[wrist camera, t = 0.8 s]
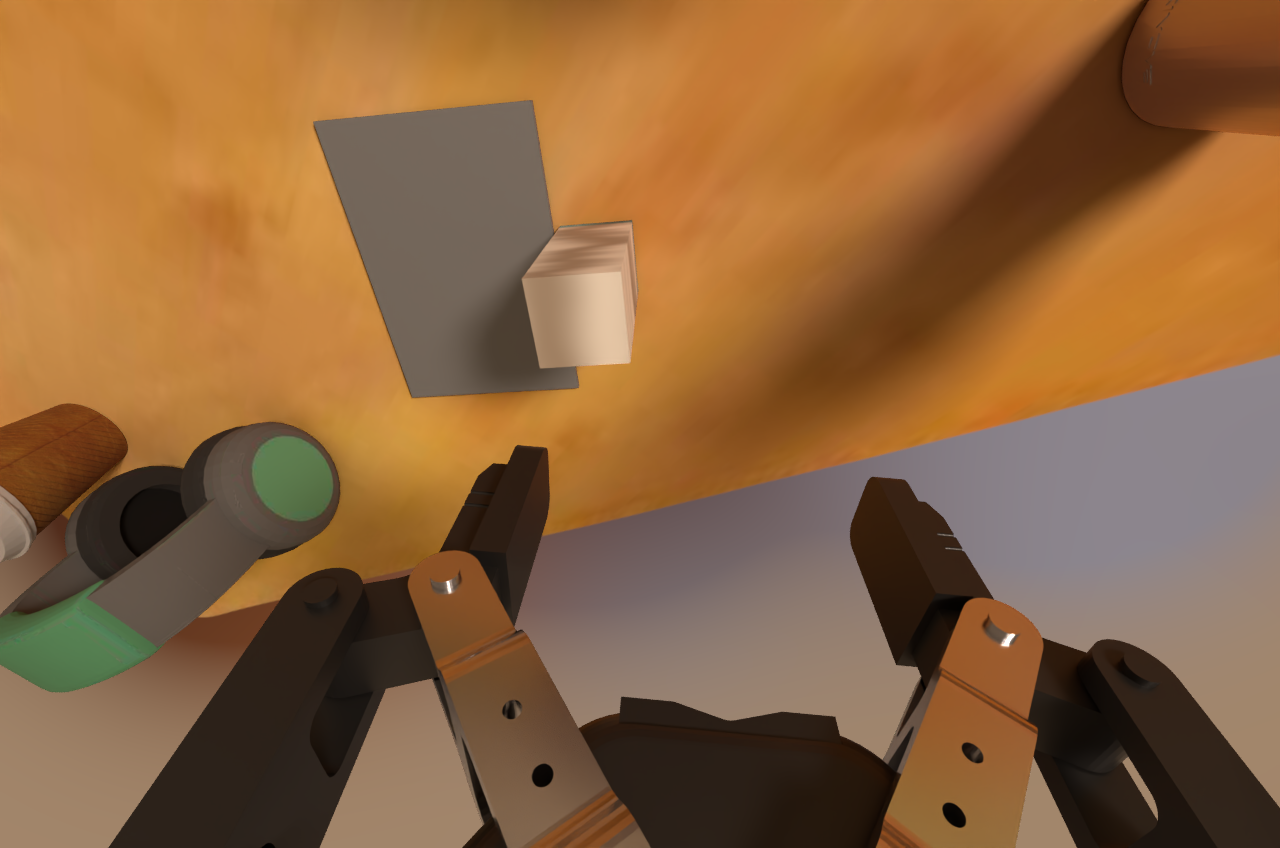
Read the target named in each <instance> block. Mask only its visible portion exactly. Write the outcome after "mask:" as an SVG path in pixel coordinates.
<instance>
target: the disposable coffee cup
mask: <svg viewBox="0 0 1280 848" xmlns="http://www.w3.org/2000/svg"><path fill="white" fill-rule="evenodd" d="M126 453H127V443H126V440H125V438H124V436H123V434H122V433H121V431H120V430H119V429H118V428H117V427H116V426H115V425H114V424H113V423H112V422H111V421H110V420H108V419H107V418H106V417H104V416H103V415H101V414H99V413H98V412H96V411H94V410H92V409H90V408H87V407H84V406H81V405H76V404H61V405H58V406H55V407H53V408H50V409H48V410H45V411H43V412H40V413H37V414H35V415H32V416H30V417H27V418H24V419H22V420H19V421H16V422H14V423H11V424H8V425H6V426H3V427H0V563H1V562H3V561H5V560H10V559H15V558H17V557H20V556H22V555H23V554H24V553H26V552H27V551H28V549H29V548H30V547H31V544H32V543H33V541H34V540H35V538H36V536H37V535H38V534H39V533H40V532H41V531H42V530H43V529H44V528H45V527H47V526H48V525H49V524H50V523H51V522H52V521H53V520H55V518H57V516H59V515H60V514H61V513H62V512H63V511H64V510H65V509H66V508H68V507H69V506H70V505H71V504H72V503H73V502H74V501H75V500H77V499H78V498H79V497H80V496H81V495H82V494H83V493H84V492H86V491H87V490H88V489H89V488H90V487H91V486H92V485H93V484H94V483H95V482H96V481H98V480H99V479H100V478H101V477H102V476H103V475H104V474H105V473H106V472H108V471H109V470H110V469H111V468H112V467H113V466H114V465H115V464H116V463H117V462H119V461H120V460H121V459H122V458H123V457H124V456H125V455H126Z"/></svg>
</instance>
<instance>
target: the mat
mask: <svg viewBox="0 0 1280 848" xmlns="http://www.w3.org/2000/svg"><path fill="white" fill-rule="evenodd" d="M313 123H314V126H315V128H316V131H317V134H318V137H319V139H320V142H321V145H322V148H323V151H324V153H325V156H326V159H327V162H328V164H329V167H330V170H331V173H332V176H333V178H334V181H335V184H336V187H337V189H338V192H339V195H340V198H341V201H342V203H343V206H344V209H345V212H346V214H347V217H348V220H349V223H350V226H351V228H352V231H353V234H354V237H355V239H356V242H357V245H358V248H359V251H360V253H361V256H362V259H363V262H364V264H365V267H366V270H367V273H368V275H369V278H370V281H371V284H372V287H373V289H374V292H375V295H376V298H377V300H378V303H379V306H380V309H381V312H382V314H383V317H384V320H385V323H386V325H387V328H388V331H389V334H390V337H391V339H392V342H393V345H394V348H395V350H396V353H397V356H398V359H399V362H400V364H401V367H402V370H403V373H404V375H405V378H406V381H407V384H408V387H409V389H410V392H411V395H412V397H429V396H446V395H464V394H481V393H499V392H517V391H534V390H552V389H569V388H579V382H578V376H577V370H576V366H573V367H556V368H540V366H539V361H538V356H537V351H536V346H535V342H534V337H533V332H532V327H531V322H530V317H529V312H528V307H527V302H526V298H525V293H524V288H523V283H522V278H523V276H524V275H525V274H526V272H527V271H528V269H529V268H530V267H531V265H532V264H533V263H534V261H535V260H536V259H537V257H538V256H539V254H540V253H541V252H542V250H543V249H544V248H545V246H546V245H547V244H548V242H549V241H550V239H551V238H552V237H553V235H554V229H553V223H552V217H551V211H550V205H549V198H548V192H547V186H546V180H545V174H544V168H543V162H542V156H541V150H540V143H539V137H538V131H537V125H536V119H535V113H534V107H533V101H532V100H529V101H519V102H508V103H498V104H488V105H478V106H468V107H457V108H447V109H437V110H427V111H417V112H406V113H396V114H386V115H376V116H366V117H355V118H345V119H335V120H325V121H315V122H313Z"/></svg>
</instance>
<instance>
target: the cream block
mask: <svg viewBox="0 0 1280 848" xmlns="http://www.w3.org/2000/svg"><path fill="white" fill-rule="evenodd" d="M522 283H523V288H524V293H525V298H526V302H527V307H528V312H529V317H530V322H531V327H532V332H533V337H534V342H535V346H536V351H537V356H538V361H539V366H540V368H556V367H573V366H589V365H606V364H623V363H630V360H631V351H632V343H633V334H634V325H635V316H636V307H637V298H638V283H637V271H636V260H635V248H634V237H633V225H632V220H630V221H618V222H605V223H593V224H580V225H568V226H560V227H559V229H558V230H557V231H556V233H555V234H554V235H553V237H552V238H551V239H550V241H549V242H548V244H547V245H546V246H545V248H544V249H543V250H542V252H541V253H540V254H539V256H538V257H537V259H536V260H535V261H534V263H533V264H532V265H531V267H530V268H529V269H528V271H527V272H526V274H525V275H524V276H523V278H522Z"/></svg>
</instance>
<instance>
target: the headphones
mask: <svg viewBox="0 0 1280 848" xmlns="http://www.w3.org/2000/svg"><path fill="white" fill-rule="evenodd" d="M339 497H340V482H339V477H338V473H337V470H336V467H335V464H334V462H333V461H332V459H331V457H330V455H329V454H328V452H327V451H326V450H325V448H324V447H323V446H322V445H321V444H320V443H319V442H318V441H317V440H316V439H315V438H313V437H312V436H310V435H309V434H308V433H306V432H304V431H302V430H300V429H298V428H296V427H293V426H290V425H287V424H283V423H276V422H265V423H257V424H251V425H248V426H241V427H235V428H232V429H229V430H226V431H223V432H221V433H218V434H216V435H214V436H212V437H210V438H209V439H207V440H205V441H204V442H202V443H201V444H200V445H199V446H198V447H197V448H196V449H195V450H194V451H193V453H192V455H191V456H190V458H189V459H188V461H187V463H186V464H185V467H184V469H180V468H174V467H168V466H149V467H143V468H137V469H135V470H132V471H129V472H126V473H123V474H121V475H119V476H116V477H114V478H112V479H111V480H109V481H107V482H105V483H104V484H102V485H101V486H100V487H99V488H98V489H97V490H95V491H94V492H92V493H91V494H90V495H89V496H88V497H86V498H85V499H84V500H83V501H82V502H81V503H80V504H79V505H78V506H77V507H76V509H75V510H74V511H73V513H72V514H71V517H70V519H69V521H68V524H67V528H66V533H65V545H66V551H67V554H68V556H67V557H66V558H64V559H63V560H62V561H61V562H60V563H58V564H57V565H56V566H55V567H53V568H52V569H51V570H50V571H48V572H47V573H46V574H45V575H44V576H43V577H41V578H40V579H39V580H38V581H36V582H35V583H34V584H33V585H32V586H31V587H30V588H29V589H27V590H26V591H25V592H24V593H23V594H21V595H20V596H19V597H18V598H17V599H16V600H15V601H14V602H13V603H12V604H11V605H10V606H9V607H8V608H7V609H5V610H4V611H3V613H2V614H1V615H0V665H2V666H4V667H6V668H7V669H9V670H11V671H12V672H14V673H16V674H18V675H19V676H21V677H23V678H25V679H26V680H28V681H30V682H31V683H33V684H35V685H37V686H38V687H40V688H42V689H45V690H47V691H50V692H69V691H73V690H77V689H81V688H84V687H88V686H91V685H93V684H96V683H98V682H101V681H104V680H106V679H109V678H111V677H113V676H115V675H117V674H120V673H122V672H124V671H125V670H127V669H129V668H131V667H133V666H135V665H137V664H138V663H140V662H142V661H144V660H145V659H147V658H149V657H150V656H151V655H153V654H154V653H155V652H157V650H159V649H160V648H161V647H162V646H163V645H164V643H165V642H166V641H167V640H169V639H170V638H172V637H173V636H174V635H176V634H177V633H178V632H179V631H181V630H182V629H183V628H185V627H186V626H187V625H189V624H190V623H191V622H192V621H194V620H195V619H196V618H197V617H198V616H200V615H201V614H202V613H203V612H204V611H205V610H207V609H208V608H209V607H210V606H211V605H212V604H213V603H214V602H215V601H217V600H218V599H219V598H220V597H221V596H222V595H223V594H224V593H225V592H226V591H227V590H228V589H229V588H230V587H231V586H232V585H233V584H234V583H235V582H236V581H237V580H238V579H239V578H240V577H241V576H242V575H243V574H244V573H245V572H246V571H247V570H248V569H249V568H250V567H251V566H252V565H253V564H254V563H255V561H256V560H257V559H264V558H270V557H274V556H277V555H280V554H283V553H286V552H288V551H291V550H294V549H295V548H297V547H298V546H300V545H301V544H303V543H304V542H307V541H309V540H310V539H312V538H313V537H315V536H316V535H318V534H319V533H321V532H322V531H323V530H324V529H325V528H326V527H327V526H328V525H329V523H330V521H331V520H332V518H333V516H334V514H335V512H336V509H337V506H338V503H339Z"/></svg>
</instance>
